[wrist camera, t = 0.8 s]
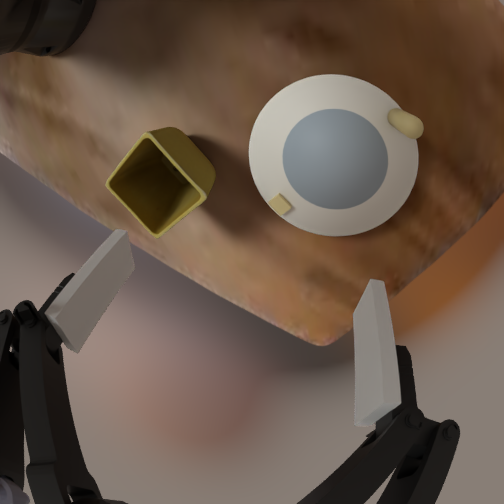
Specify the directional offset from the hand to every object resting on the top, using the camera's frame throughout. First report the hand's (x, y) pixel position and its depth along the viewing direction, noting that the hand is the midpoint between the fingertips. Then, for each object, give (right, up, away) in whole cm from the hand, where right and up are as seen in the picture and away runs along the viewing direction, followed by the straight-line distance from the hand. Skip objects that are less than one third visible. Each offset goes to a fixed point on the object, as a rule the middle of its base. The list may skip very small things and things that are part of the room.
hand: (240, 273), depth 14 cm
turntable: (+9, +11, +13) cm, 20 cm away
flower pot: (-8, +13, +19) cm, 24 cm away
